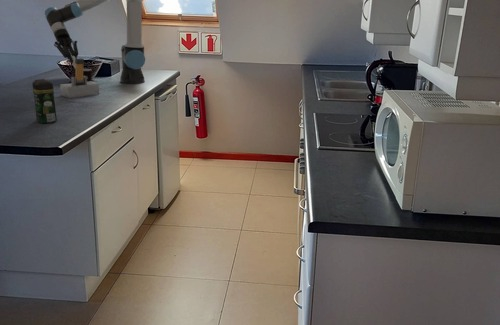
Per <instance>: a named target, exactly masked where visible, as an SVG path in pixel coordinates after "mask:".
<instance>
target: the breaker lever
mask: <svg viewBox="0 0 500 325" xmlns="http://www.w3.org/2000/svg"><path fill="white" fill-rule="evenodd" d="M75 63H76V69H75V72H76V73H74V75H75V76H74V77H75V78H76V84H80V83H84V79H83V69H84V65H85V59H84V58H81V57H79V58H77V59H75Z"/></svg>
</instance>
